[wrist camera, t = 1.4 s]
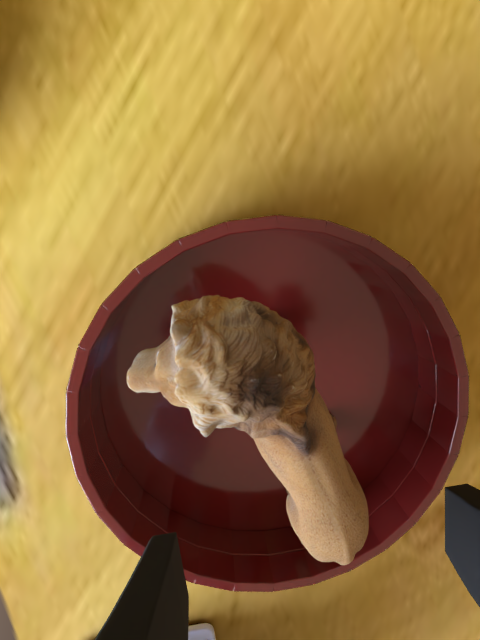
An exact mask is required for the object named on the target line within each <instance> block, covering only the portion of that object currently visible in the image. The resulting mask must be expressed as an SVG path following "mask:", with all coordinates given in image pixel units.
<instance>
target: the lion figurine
mask: <svg viewBox="0 0 480 640" xmlns="http://www.w3.org/2000/svg"><path fill="white" fill-rule="evenodd" d="M171 307H172V310H173V315H172V318H171V328H170V336H169V338H168V339H167V340H166V341H164V342H163V343H162V344H161V345H159V346H158V347H156V348H151V349H145V350H142V351H141V352H139V353H138V354H137V356H136V357H135V359H134V361H133V363H132V366H131V367H130V368H129V370H128V372H127V385H128V387H129V388H130V389H131V390H133V391H134V392H137V393H140V392H148V393H157V392H161V393H162V395H163V396H164V397H165V398H166V399H167V400H168V401H169V402H170V403H171V404H172V405H174V406H178V407H185V408H188V409H189V410H190V413H191V416H192V420H193V424H194V426H195V427H196V428H197V429H199V430H200V432H201V434H202V435H203V436H204V437H207V436H209V435H210V434H211V433H212V432H213V430H214V429H215V428H232V427H235V428H236V429H238V430H240V431H245V432H246V433H248V434H249V435H250V436H251V437H252V438H253V439H254V441H255V443H256V445H257V448H258V450H259V452H260V453H261V455H262V457H263V458H264V460H265V461H266V463H267V464H268V466H269V467H270V469H271V470H272V471H273V473H274V474H275V475H276V477H277V478H278V479H279V480H280V482H281V483H282V484H283V486H284V487H285V488H286V492H287V494H288V496H287V500H286V509H287V514H288V517H289V520H290V523H291V525H292V528H293V530H294V531H295V533H296V534H297V536H298V537H299V539H300V541H301V542H302V544H303V545H304V546H305V548H306V549H307V551H308V552H309V553H310V554H311V555H312V556H313V557H314V558H315V559H316V560H318V561H321V562H333V561H334V562H337V563H338V564H340V565H347V564H350V563H351V562H352V561H353V559H354V557H355V554H356V553H357V552H358V551H359V550H361V549H362V547H363V546H364V543H365V541H366V538H367V535H368V530H369V515H368V506H367V501H366V498H365V495H364V492H363V490H362V488H361V485H360V484H359V482H358V480H357V478H356V475H355V474H354V472H353V470H352V468H351V466H350V464H349V463H348V461H347V460H346V459H345V458H344V456H343V453H342V449H341V446H340V443H339V440H338V436H337V433H336V426H337V421H336V419H335V417H334V416H333V415H331V414H330V413H329V411H328V408H327V406H326V404H325V402H324V401H323V399H322V397H321V395H320V394H319V392H318V391H317V389H316V388H315V377H316V373H315V364H314V354H313V351H312V350H311V348H310V347H309V345H308V343H307V341H306V340H305V338H304V337H303V336H302V334H300V333H298V332H297V331H296V329H295V328H294V326H293V325H292V323H291V322H290V321H289V320H287V319H284V318H282V317H281V316H279V315H278V313H277V312H276V311H272V310H270V309H269V307H267V306H264V305H263V304H261V303H259V302H255V301H252V302H251V301H248V300H246V299H244V298H242V297H238V298H233V299H229V298H226V297H220V296H219V295H214V296H210V295H209V296H203V297H202V298H201V299H194V300H191V301H188V300H184V301H182V302H180V303H178V304H174V305H172V306H171Z"/></svg>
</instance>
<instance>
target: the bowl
mask: <svg viewBox="0 0 480 640" xmlns="http://www.w3.org/2000/svg"><path fill="white" fill-rule="evenodd" d="M209 295H210V296H214V295H219V296H220V297H226V298H229V299H233V298H238V297H242V298H244V299H246V300H248V301H251V302H252V301H255V302H259V303H261V304H263V305H264V306H267V307H269V309H270V310H272V311H276V312H277V313H278V315H279V316H281V317H282V318H284V319H287V320H289V321H290V322H291V323H292V325H293V326H294V328H295V329H296V331H297V332H298V333H300V334H302V336H303V337H304V338H305V340H306V341H307V343H308V345H309V347H310V348H311V350H312V351H313V354H314V364H315V373H316V377H315V388H316V389H317V391H318V392H319V394H320V395H321V397H322V399H323V401H324V402H325V404H326V406H327V408H328V411H329V413H330V414H331V415H333V416H334V417H335V419H336V421H337V426H336V433H337V436H338V440H339V443H340V446H341V449H342V453H343V456H344V458H345V459H346V460H347V461H348V463H349V464H350V466H351V468H352V470H353V472H354V474H355V475H356V478H357V480H358V482H359V484H360V485H361V488H362V490H363V492H364V495H365V498H366V501H367V506H368V515H369V530H368V535H367V538H366V541H365V543H364V546H363V547H362V549H361V550H359V551H358V552H357V553H356V554H355V557H354V559H353V561H352V562H351V563H350V564H347V565H340V564H338V563H337V562H334V561H333V562H321V561H318V560H316V559H315V558H314V557H313V556H312V555H311V554H310V553H309V552H308V551H307V549H306V548H305V546H304V545H303V544H302V542H301V541H300V539H299V537H298V536H297V534H296V533H295V531H294V530H293V528H292V525H291V523H290V520H289V517H288V514H287V509H286V500H287V496H288V494H287V492H286V488H285V487H284V486H283V484H282V483H281V482H280V480H279V479H278V478H277V477H276V475H275V474H274V473H273V471H272V470H271V469H270V467H269V466H268V464H267V463H266V461H265V460H264V458H263V457H262V455H261V453H260V452H259V450H258V448H257V445H256V443H255V441H254V439H253V438H252V437H251V436H250V435H249V434H248V433H246V432H245V431H240V430H238V429H236V428H235V427H232V428H215V429H214V430H213V432H212V433H211V434H210V435H209V436H207V437H204V436H203V435H202V434H201V432H200V430H199V429H197V428H196V427H195V426H194V424H193V420H192V416H191V413H190V410H189V409H188V408H185V407H178V406H174V405H172V404H171V403H170V402H169V401H168V400H167V399H166V398H165V397H164V396H163V395H162V393H161V392H157V393H148V392H140V393H137V392H134V391H133V390H131V389H130V388H129V387H128V385H127V372H128V370H129V368H130V367H131V366H132V363H133V361H134V359H135V357H136V356H137V354H138V353H139V352H141V351H142V350H145V349H151V348H156V347H158V346H159V345H161V344H162V343H163V342H164V341H166V340H167V339H168V338H169V336H170V328H171V318H172V315H173V310H172V307H171V306H172V305H174V304H178V303H180V302H182V301H184V300H188V301H191V300H194V299H201V298H202V297H203V296H209ZM468 374H469V373H468V369H467V364H466V360H465V356H464V351H463V347H462V343H461V338H460V335H459V332H458V330H457V328H456V326H455V324H454V322H453V320H452V318H451V316H450V315H449V313H448V311H447V309H446V307H445V305H444V303H443V301H442V299H441V297H440V296H439V294H438V293H437V292H436V291H435V290H434V289H433V287H432V286H431V285H430V284H429V283H428V282H427V281H426V280H425V278H424V277H423V276H422V275H421V274H420V273H419V272H418V271H417V269H416V268H415V267H414V266H413V265H412V264H411V263H410V262H409V261H407V260H406V259H404V258H403V257H401V256H400V255H399V254H397V253H396V252H394V251H393V250H391V249H390V248H388V247H387V246H385V245H384V244H382V243H381V242H379V241H378V240H376V239H375V238H373V237H371V236H369V235H366V234H364V233H361V232H358V231H355V230H353V229H350V228H347V227H344V226H342V225H339V224H336V223H333V222H331V221H326V220H321V219H312V218H303V217H294V216H285V215H270V216H262V217H254V218H246V219H238V220H230V221H227V222H222V223H220V224H217V225H214V226H211V227H209V228H206V229H203V230H201V231H198V232H195V233H193V234H190V235H187V236H185V237H182V238H179V239H178V240H176V241H174V242H173V243H171V244H170V245H168V246H167V247H165V248H164V249H162V250H161V251H159V252H158V253H156V254H155V255H153V256H152V257H150V258H149V259H147V260H146V261H144V262H143V263H141V264H140V265H138V266H137V267H136V268H134V269H133V270H132V271H131V272H130V274H129V275H128V276H127V277H126V278H125V279H124V280H123V281H122V282H121V283H120V284H119V285H118V287H117V288H116V289H115V290H114V291H113V292H112V293H111V294H110V295H109V296H108V297H107V298H106V299H105V301H104V302H103V303H102V305H101V306H100V307H99V309H98V311H97V313H96V314H95V316H94V318H93V320H92V322H91V323H90V325H89V327H88V329H87V331H86V333H85V334H84V336H83V338H82V340H81V342H80V343H79V347H78V348H77V351H76V355H75V359H74V363H73V367H72V370H71V374H70V378H69V382H68V386H67V389H66V390H67V391H66V438H67V442H68V446H69V450H70V454H71V458H72V462H73V466H74V470H75V474H76V477H77V479H78V481H79V483H80V485H81V487H82V489H83V490H84V492H85V494H86V496H87V498H88V500H89V502H90V503H91V505H92V507H93V509H94V511H95V513H96V514H97V515H98V516H99V518H100V519H101V520H102V521H103V522H104V523H105V524H106V525H107V527H108V528H109V529H110V530H111V531H112V532H113V533H114V534H115V535H116V537H117V538H118V539H119V540H120V541H121V542H122V543H124V545H125V546H127V547H128V548H129V549H131V550H132V551H134V552H135V553H136V554H138V555H139V556H142V554H143V552H144V550H145V548H146V546H147V544H148V542H149V540H150V539H151V537H152V536H155V535H161V534H167V533H173V532H176V533H177V538H178V543H179V549H180V554H181V559H182V564H183V570H184V575H185V580H187V581H189V582H191V583H195V584H200V585H205V586H210V587H214V588H219V589H224V590H229V591H247V592H273V591H280V590H286V589H292V588H298V587H303V586H309V585H313V584H317V583H319V582H322V581H325V580H327V579H330V578H333V577H335V576H338V575H341V574H344V573H346V572H349V571H351V570H353V569H355V568H357V567H358V566H360V565H362V564H363V563H365V562H367V561H368V560H370V559H372V558H373V557H375V556H377V555H378V554H380V553H382V552H383V551H385V550H386V549H388V548H389V547H390V546H391V545H392V544H393V543H395V542H396V541H397V540H398V539H399V538H400V537H401V536H403V535H404V534H405V533H406V532H407V531H408V530H409V529H410V528H412V527H413V526H414V525H415V524H416V523H417V522H418V520H419V519H420V518H421V517H422V515H423V514H424V513H425V511H426V510H427V509H428V507H429V506H430V505H431V504H432V502H433V501H434V500H435V498H436V497H437V496H438V495H439V493H440V491H441V490H442V488H443V486H444V484H445V482H446V480H447V478H448V476H449V474H450V472H451V470H452V468H453V466H454V464H455V462H456V460H457V457H458V454H459V452H460V448H461V444H462V440H463V435H464V431H465V427H466V423H467V419H468V409H469V375H468Z"/></svg>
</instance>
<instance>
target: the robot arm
mask: <svg viewBox="0 0 480 640" xmlns="http://www.w3.org/2000/svg"><path fill="white" fill-rule="evenodd" d="M445 552H446V554H447V555H448V557H449V559H450V561H451V562H452V564H453V566H454V568H455V569H456V571H457V573H458V575H459V576H460V578H461V580H462V581H463V583H464V585H465V586H466V588H467V590H468V591H469V593H470V594H471V596H472V597H473V599H474V600H475V601H476V603H477V604H478V606H479V607H480V490H478V489H476V488H475V487H473V486H471V485H469V484H463V485H456V486H450V487H445ZM188 610H189V596H188V591H187V585H186V580H185V575H184V570H183V564H182V559H181V554H180V549H179V543H178V538H177V533H176V532H173V533H167V534H161V535H155V536H152V537H151V539H150V540H149V542H148V544H147V546H146V548H145V550H144V552H143V554H142V556H141V558H140V560H139V562H138V564H137V566H136V568H135V570H134V572H133V574H132V576H131V578H130V579H129V581H128V583H127V585H126V587H125V589H124V591H123V592H122V594H121V596H120V598H119V599H118V601H117V603H116V605H115V607H114V608H113V610H112V612H111V614H110V615H109V617H108V619H107V621H106V622H105V624H104V626H103V627H102V629H101V630H100V632H99V634H98V635H97V637H96V638H95V640H206V639H207V640H216V638H215V632H214V628H213V626H212V625H211V624H208V623H202V624H197V625H191V626H188Z"/></svg>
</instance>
